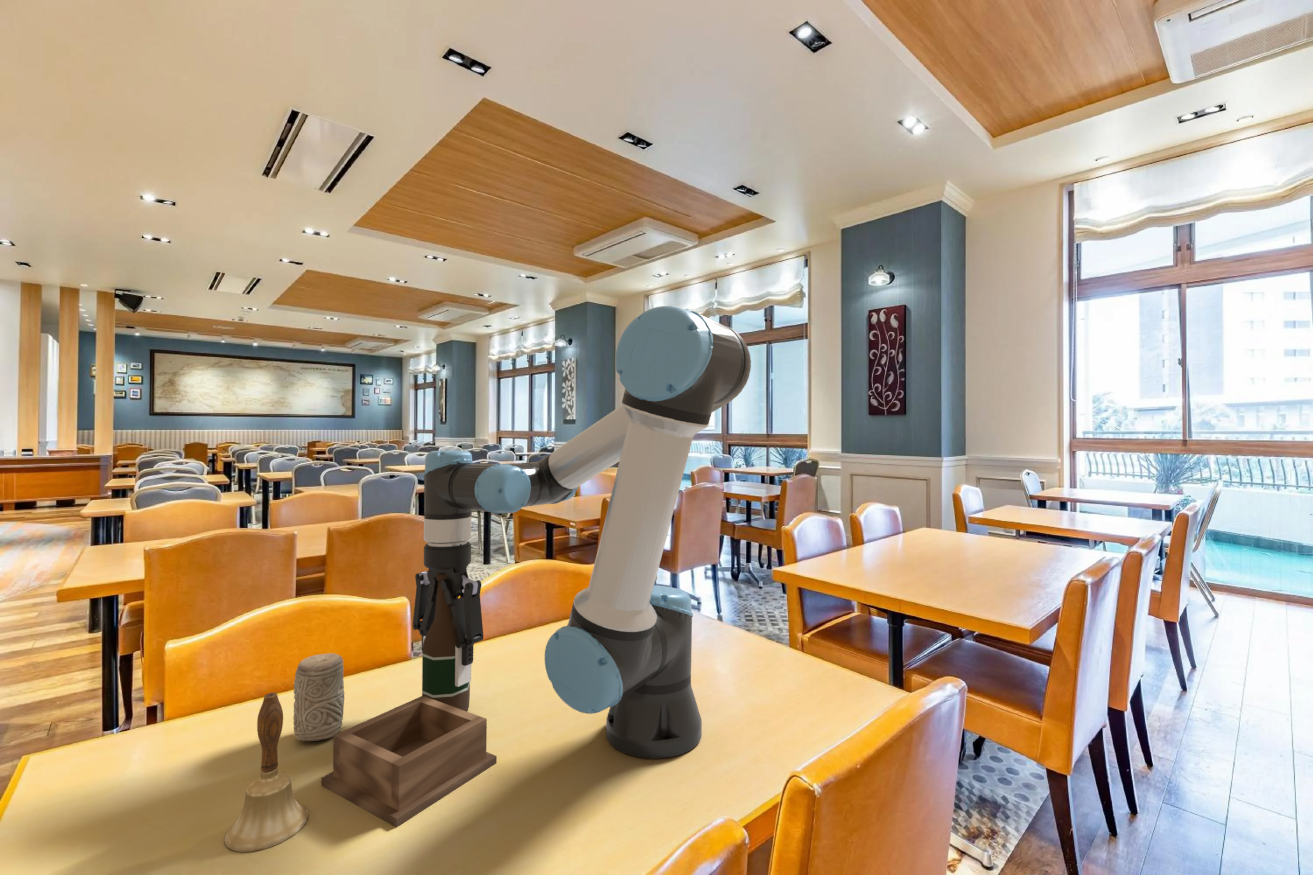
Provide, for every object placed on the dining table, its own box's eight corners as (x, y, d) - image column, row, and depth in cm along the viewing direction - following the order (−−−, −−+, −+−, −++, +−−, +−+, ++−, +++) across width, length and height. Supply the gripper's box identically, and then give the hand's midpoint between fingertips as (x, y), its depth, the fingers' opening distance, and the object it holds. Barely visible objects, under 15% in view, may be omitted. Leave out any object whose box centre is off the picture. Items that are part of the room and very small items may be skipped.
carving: (353, 724, 93) (354, 650, 93) (322, 749, 86) (323, 669, 86) (316, 722, 94) (317, 649, 94) (282, 747, 86) (283, 667, 86)
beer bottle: (454, 727, 93) (456, 578, 93) (411, 722, 94) (412, 575, 94) (479, 705, 100) (480, 567, 100) (438, 701, 102) (439, 565, 102)
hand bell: (322, 805, 73) (323, 679, 73) (282, 852, 65) (283, 710, 65) (255, 805, 73) (256, 679, 73) (206, 853, 65) (207, 710, 65)
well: (496, 762, 83) (496, 717, 83) (396, 826, 69) (397, 772, 69) (423, 732, 91) (423, 691, 91) (321, 784, 77) (321, 736, 77)
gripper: (508, 544, 95) (506, 683, 95) (427, 533, 106) (426, 658, 106) (472, 552, 89) (471, 700, 89) (390, 539, 99) (388, 672, 99)
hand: (446, 677), depth 97 cm, fingers closed on beer bottle, 7 cm apart
